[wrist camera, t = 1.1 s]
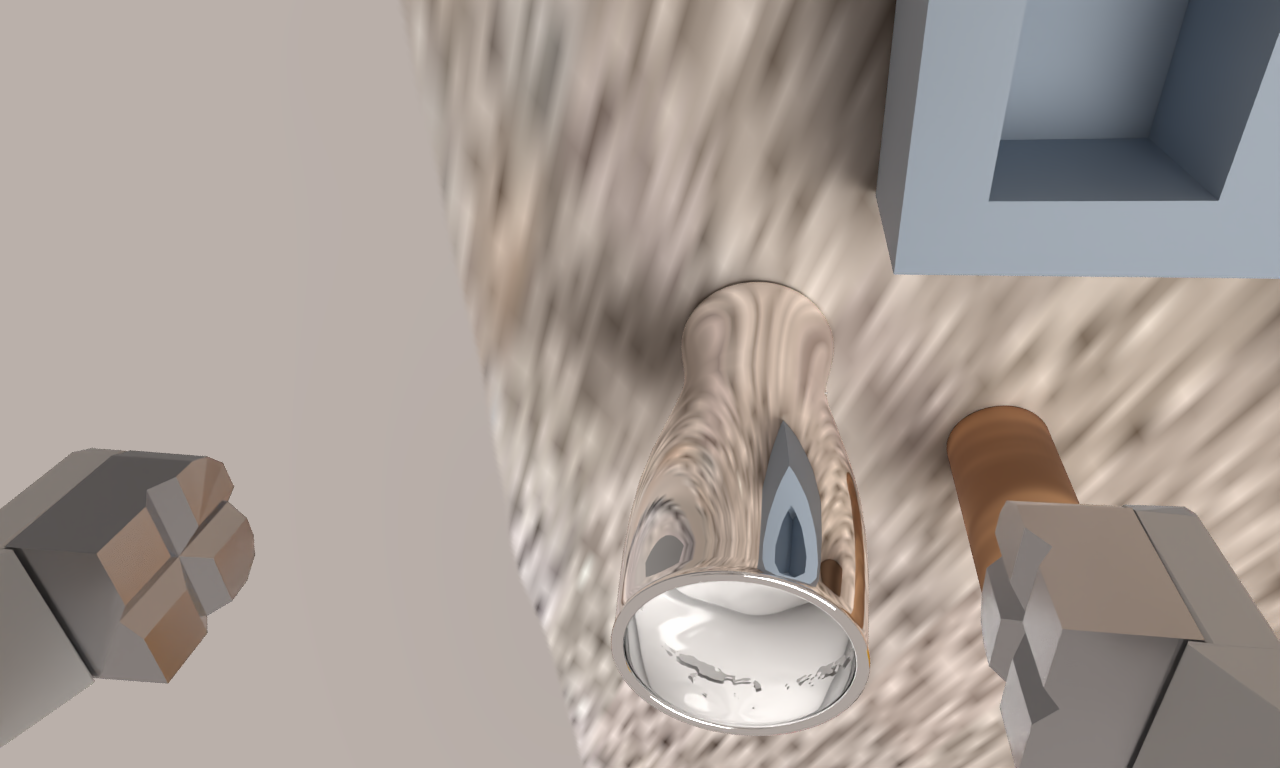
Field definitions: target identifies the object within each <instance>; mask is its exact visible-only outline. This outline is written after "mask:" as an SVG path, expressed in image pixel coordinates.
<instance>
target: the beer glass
mask: <svg viewBox="0 0 1280 768" xmlns="http://www.w3.org/2000/svg"><path fill="white" fill-rule="evenodd" d="M681 353H682V362H683V368H684V375H685V379H684V384H683V388H682V391H681V393H680V396H679V398H678V400H677V402H676V404H675V406H674V408H673V410H672V412H671V414H670V416H669V417H668V419H667V421H666V423H665V425H664V427H663V429H662V431H661V433H660V435H659V437H658V439H657V441H656V443H655V445H654V447H653V449H652V452H651V454H650V456H649V459H648V461H647V464H646V466H645V468H644V471H643V473H642V476H641V478H640V481H639V484H638V487H637V491H636V495H635V498H634V502H633V506H632V509H631V513H630V517H629V522H628V527H627V533H626V538H625V544H624V549H623V556H622V564H621V571H620V579H619V588H618V598H617V608H616V616H615V622H614V626H613V629H612V634H611V650H612V655H613V659H614V662H615V664H616V666H617V669H618V671H619V672H620V674H621V676H622V677H623V679H624V680H625V681H626V683H627V684H628V685H629V686H630V687H631V689H632V690H633V691H634V692H635V693H636V694H638V695H639V696H640V697H641V698H642V699H643V700H645V701H646V702H647V703H649V704H650V705H652V706H653V707H655V708H656V709H658V710H660V711H661V712H663V713H665V714H667V715H669V716H671V717H673V718H675V719H677V720H680V721H682V722H685V723H687V724H690V725H693V726H696V727H699V728H703V729H707V730H711V731H715V732H721V733H727V734H734V735H745V736H770V735H781V734H788V733H794V732H798V731H802V730H806V729H809V728H812V727H815V726H818V725H821V724H823V723H825V722H827V721H829V720H831V719H833V718H835V717H836V716H838V715H840V714H841V713H842V712H844V711H845V710H846V709H848V708H849V707H850V706H851V705H852V704H853V703H854V702H855V701H856V700H857V698H858V697H859V696H860V695H861V693H862V691H863V690H864V688H865V686H866V684H867V681H868V678H869V673H870V664H871V662H870V653H869V568H868V553H867V538H866V531H865V524H864V517H863V511H862V504H861V499H860V495H859V491H858V488H857V484H856V481H855V477H854V474H853V470H852V467H851V463H850V460H849V458H848V455H847V452H846V449H845V447H844V444H843V441H842V439H841V436H840V433H839V431H838V428H837V426H836V423H835V420H834V418H833V415H832V412H831V409H830V406H829V403H828V400H827V392H826V385H827V382H828V378H829V374H830V371H831V367H832V362H833V356H834V340H833V335H832V331H831V328H830V326H829V323H828V322H827V320H826V318H825V316H824V315H823V313H822V312H821V311H820V309H819V308H818V307H817V306H816V305H815V304H814V303H813V302H812V301H811V300H810V299H808V298H807V297H806V296H804V295H803V294H801V293H799V292H798V291H796V290H793V289H791V288H789V287H786V286H783V285H780V284H775V283H770V282H744V283H738V284H734V285H731V286H728V287H725V288H723V289H720V290H718V291H716V292H715V293H713V294H711V295H710V296H708V297H707V298H706V299H704V300H703V301H702V302H701V303H700V304H699V305H698V306H697V307H696V308H695V310H694V311H693V312H692V314H691V315H690V317H689V318H688V320H687V322H686V325H685V327H684V330H683V334H682V342H681Z"/></svg>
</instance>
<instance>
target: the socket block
mask: <svg viewBox="0 0 1280 768" xmlns="http://www.w3.org/2000/svg"><path fill="white" fill-rule="evenodd" d="M876 198H877V203H878V207H879V211H880V216H881V220H882V225H883V229H884V233H885V238H886V242H887V247H888V251H889V255H890V260H891V264H892V269H893V273H894V274H908V275H999V276H1090V277H1182V278H1273V279H1280V0H897V1H896V10H895V20H894V29H893V38H892V48H891V57H890V66H889V76H888V85H887V95H886V104H885V113H884V123H883V132H882V141H881V151H880V160H879V169H878V179H877V188H876Z"/></svg>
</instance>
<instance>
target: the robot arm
mask: <svg viewBox="0 0 1280 768" xmlns="http://www.w3.org/2000/svg"><path fill="white" fill-rule="evenodd" d="M233 488H234V485H233V483H232V481H231V479H230V477H229V475H228V473H227V470H226V468H225V466H224V464H223V463H222V462H219V461H217V460H214V459H212V458H210V457H207V456H194V455H182V454H169V453H156V452H144V451H131V450H130V451H121V450H110V449H96V448H90V449H86V450H81V451H77V452H72V453H71V454H70V455H68V456H67V457H66V458H65V459H63V460H62V461H61V462H59V463H58V464H57V465H56V466H54V467H53V468H52V469H51V470H49V471H48V472H47V473H45V474H44V475H43V476H42V477H41V478H39V479H38V480H37V481H35V482H34V483H33V484H32V485H30V486H29V487H28V488H26V489H25V490H24V491H23V492H21V493H20V494H19V495H18V496H17V497H15V498H14V499H12V500H11V501H10V502H9V503H8V504H6V505H5V506H4V507H2V508H1V509H0V748H1V747H3V746H4V745H5V744H7V743H8V742H10V741H11V740H13V739H14V738H16V737H17V736H18V735H20V734H21V733H23V732H24V731H25V730H27V729H28V728H30V727H31V726H33V725H34V724H36V723H37V722H38V721H40V720H41V719H43V718H44V717H46V716H47V715H49V714H50V713H51V712H53V711H54V710H56V709H57V708H58V707H60V706H61V705H63V704H64V703H66V702H67V701H69V700H70V699H72V698H73V697H74V696H76V695H77V694H79V693H80V692H82V691H83V690H84V689H86V688H87V687H89V686H90V685H92V684H93V683H94V682H95V680H94V679H93V678H102V679H116V680H128V681H141V682H155V683H169V682H170V680H171V679H172V678H173V677H174V675H175V674H176V673H177V671H178V670H179V669H180V668H181V666H182V665H183V664H184V662H185V661H186V660H187V658H188V657H189V656H190V655H191V653H192V652H193V651H194V650H195V648H196V647H197V646H198V644H199V643H200V642H201V641H202V639H203V638H204V637H205V635H206V634H207V615H209V614H211V613H212V612H214V611H216V610H218V609H219V608H221V607H223V606H224V605H226V604H228V603H230V602H231V601H232V600H233V599H234V597H235V596H236V595H237V594H238V592H239V591H240V590H241V588H242V587H243V585H244V584H245V583H246V581H247V579H248V576H249V573H250V569H251V566H252V563H253V560H254V556H255V550H254V535H253V533H252V530H251V527H250V525H249V522H248V520H247V518H246V517H245V516H244V515H243V514H242V513H241V512H239V511H238V510H237V509H236V508H235V507H234V506H233V505H232V504H230V503H229V502H228V500H229V498H230V496H231V493H232V491H233ZM995 535H996V539H997V542H998V545H999V548H1000V552H1001V555H1002V556H1001V557H1000V558H999V559H998V560H996V561H995V562H994V563H992V564H991V565H990V566H989V567H987V569H986V574H985V579H984V585H983V590H982V603H981V625H982V633H983V641H984V646H985V650H986V655H987V659H988V663H989V666H990V667H991V668H992V669H993V670H994V671H995V672H996V673H997V674H998V675H999V676H1000V677H1001V678H1002V679H1003V680H1004V681H1005V682H1006V685H1005V689H1004V692H1003V696H1002V700H1001V704H1000V710H1001V714H1002V718H1003V722H1004V725H1005V729H1006V733H1007V737H1008V740H1009V744H1010V748H1011V752H1012V756H1013V759H1014V763H1015V767H1016V768H1280V640H1279V639H1278V637H1277V636H1276V634H1275V633H1274V631H1273V630H1272V628H1271V627H1270V625H1269V624H1268V622H1267V621H1266V619H1265V618H1264V616H1263V615H1262V613H1261V612H1260V610H1259V609H1258V607H1257V605H1256V604H1255V602H1254V601H1253V599H1252V598H1251V596H1250V595H1249V593H1248V592H1247V590H1246V589H1245V587H1244V586H1243V584H1242V583H1241V581H1240V580H1239V578H1238V577H1237V575H1236V574H1235V572H1234V570H1233V569H1232V567H1231V566H1230V564H1229V563H1228V561H1227V560H1226V558H1225V557H1224V555H1223V554H1222V552H1221V551H1220V549H1219V548H1218V546H1217V545H1216V543H1215V542H1214V540H1213V539H1212V537H1211V536H1210V534H1209V532H1208V531H1207V529H1206V528H1205V526H1204V525H1203V523H1202V522H1201V520H1200V519H1199V517H1198V516H1197V515H1196V514H1195V513H1194V512H1192V511H1191V510H1189V509H1187V508H1186V507H1178V506H1147V505H1123V506H1122V507H1121V506H1108V505H1088V504H1067V503H1047V502H1027V501H1006V502H1005V504H1004V506H1003V508H1002V510H1001V511H1000V514H999V518H998V522H997V526H996V530H995Z"/></svg>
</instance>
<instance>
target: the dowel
mask: <svg viewBox="0 0 1280 768" xmlns="http://www.w3.org/2000/svg"><path fill="white" fill-rule="evenodd" d="M947 455H948V459H949V463H950V467H951V471H952V475H953V479H954V483H955V487H956V491H957V495H958V499H959V503H960V507H961V511H962V515H963V519H964V523H965V527H966V531H967V535H968V539H969V543H970V547H971V551H972V555H973V559H974V563H975V567H976V571H977V576H978V580H979V584H980V588H981V592H982V590H983V585H984V579H985V574H986V569H987V567H989V566H990V565H991V564H992V563H994V562H995V561H996V560H998V559H999V558H1000V557H1001V556H1002V555H1001V552H1000V548H999V545H998V542H997V539H996V535H995V530H996V526H997V522H998V518H999V514H1000V511H1001V510H1002V508H1003V506H1004V504H1005V502H1006V501H1027V502H1047V503H1067V504H1079V501H1078V499H1077V497H1076V494H1075V492H1074V490H1073V487H1072V485H1071V482H1070V480H1069V478H1068V475H1067V473H1066V471H1065V468H1064V466H1063V464H1062V461H1061V459H1060V456H1059V454H1058V452H1057V449H1056V447H1055V445H1054V442H1053V440H1052V438H1051V435H1050V433H1049V430H1048V428H1047V426H1046V425H1045V423H1044V422H1043V421H1042V419H1041V418H1039V417H1038V416H1037V415H1035V414H1034V413H1032V412H1030V411H1028V410H1025V409H1022V408H1018V407H1013V406H996V407H990V408H985V409H982V410H979V411H977V412H974V413H972V414H971V415H969V416H967V417H966V418H964V419H963V420H961V421H960V422H959V423H958V424H957V425H956V426H955V427H954V429H953V430H952V432H951V433H950V435H949V438H948V441H947Z"/></svg>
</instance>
